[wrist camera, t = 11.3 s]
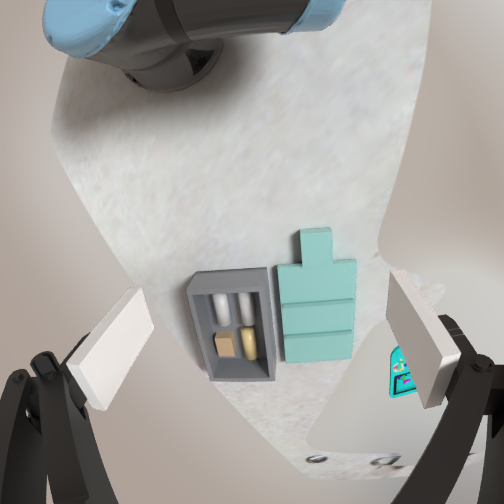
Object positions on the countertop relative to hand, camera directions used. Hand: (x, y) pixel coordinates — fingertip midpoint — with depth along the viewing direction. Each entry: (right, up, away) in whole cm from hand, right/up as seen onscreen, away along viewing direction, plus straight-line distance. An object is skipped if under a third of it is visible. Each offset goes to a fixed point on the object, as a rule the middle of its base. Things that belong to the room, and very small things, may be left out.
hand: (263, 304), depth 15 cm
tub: (-3, -8, +35) cm, 36 cm away
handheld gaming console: (+31, -21, +37) cm, 52 cm away
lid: (+10, -5, +32) cm, 34 cm away
